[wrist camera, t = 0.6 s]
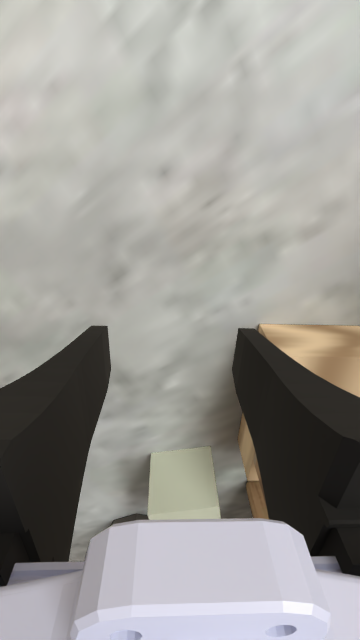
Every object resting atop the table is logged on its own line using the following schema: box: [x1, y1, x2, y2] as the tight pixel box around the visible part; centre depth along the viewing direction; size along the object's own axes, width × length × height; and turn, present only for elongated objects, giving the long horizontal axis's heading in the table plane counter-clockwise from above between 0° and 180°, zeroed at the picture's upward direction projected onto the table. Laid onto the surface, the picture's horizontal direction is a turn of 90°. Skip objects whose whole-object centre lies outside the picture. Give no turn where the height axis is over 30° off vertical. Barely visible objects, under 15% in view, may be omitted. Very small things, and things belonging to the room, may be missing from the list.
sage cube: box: [148, 446, 221, 520], centre depth 29 cm, size 6×6×6 cm
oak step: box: [237, 324, 360, 481], centre depth 25 cm, size 10×13×4 cm
